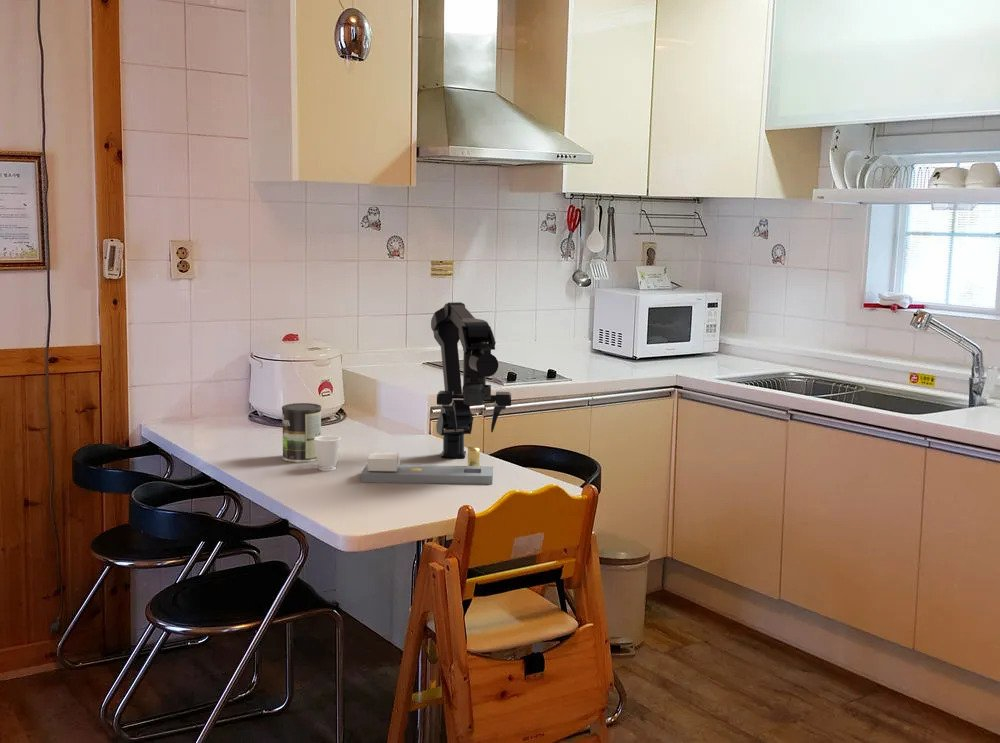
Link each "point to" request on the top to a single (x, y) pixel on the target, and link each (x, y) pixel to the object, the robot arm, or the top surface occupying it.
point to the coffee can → (300, 431)
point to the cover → (383, 462)
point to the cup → (327, 451)
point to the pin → (473, 456)
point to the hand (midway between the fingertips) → (473, 431)
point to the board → (431, 474)
